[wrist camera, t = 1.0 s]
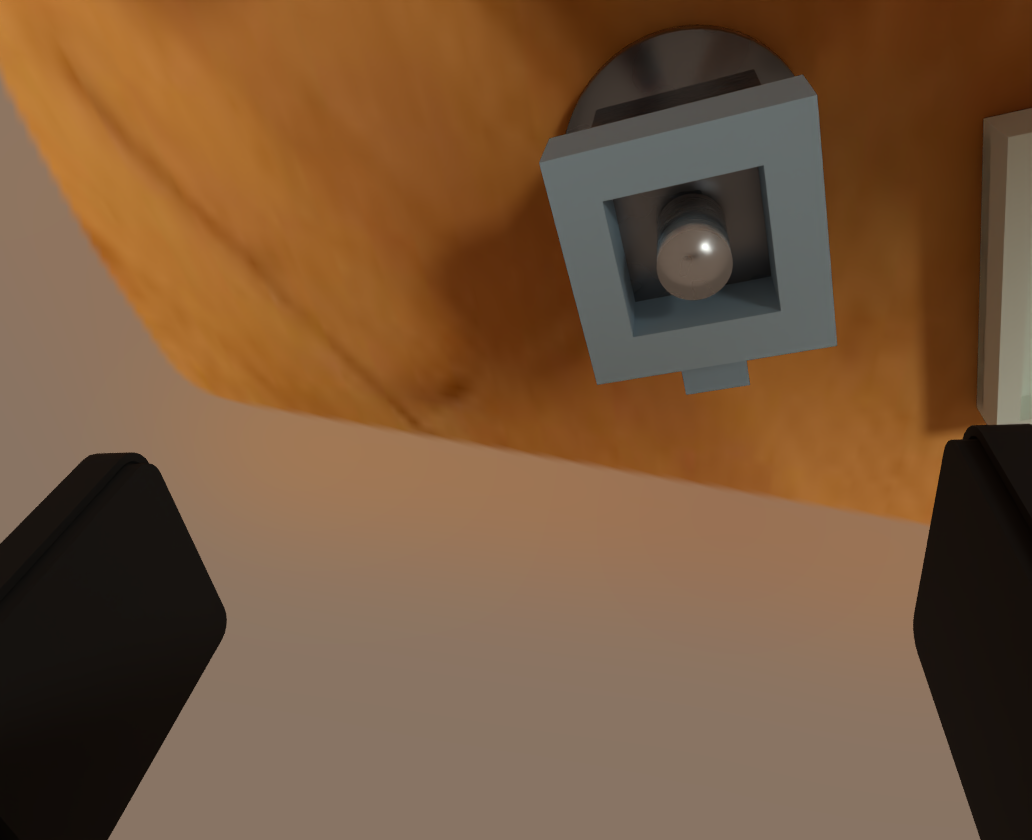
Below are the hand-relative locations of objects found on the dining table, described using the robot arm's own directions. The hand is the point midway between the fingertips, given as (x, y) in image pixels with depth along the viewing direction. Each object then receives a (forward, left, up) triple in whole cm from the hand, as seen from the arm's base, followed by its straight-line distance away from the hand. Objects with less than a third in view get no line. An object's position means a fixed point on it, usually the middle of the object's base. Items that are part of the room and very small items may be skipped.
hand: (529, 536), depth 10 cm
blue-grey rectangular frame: (-2, +3, -17) cm, 17 cm away
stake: (-2, +3, -24) cm, 24 cm away
